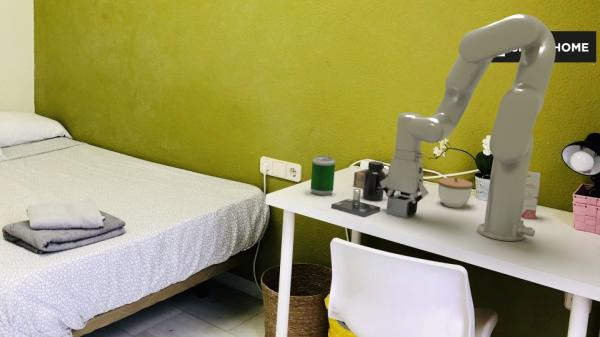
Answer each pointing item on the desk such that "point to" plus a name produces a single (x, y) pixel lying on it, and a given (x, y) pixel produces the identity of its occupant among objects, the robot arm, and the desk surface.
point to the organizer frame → (360, 177)
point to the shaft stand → (356, 205)
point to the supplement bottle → (373, 181)
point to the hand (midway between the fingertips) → (401, 211)
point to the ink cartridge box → (531, 195)
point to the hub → (399, 205)
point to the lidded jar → (454, 191)
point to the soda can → (322, 175)
